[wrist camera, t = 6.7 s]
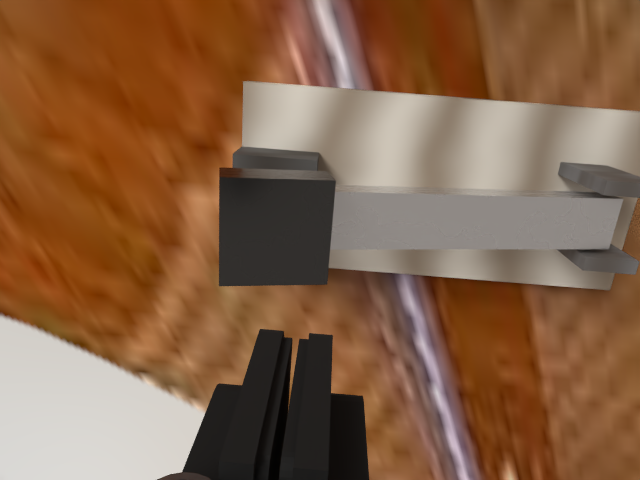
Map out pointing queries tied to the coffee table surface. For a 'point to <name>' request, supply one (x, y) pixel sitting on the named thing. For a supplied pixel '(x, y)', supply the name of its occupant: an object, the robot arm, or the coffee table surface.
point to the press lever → (386, 222)
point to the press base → (453, 166)
